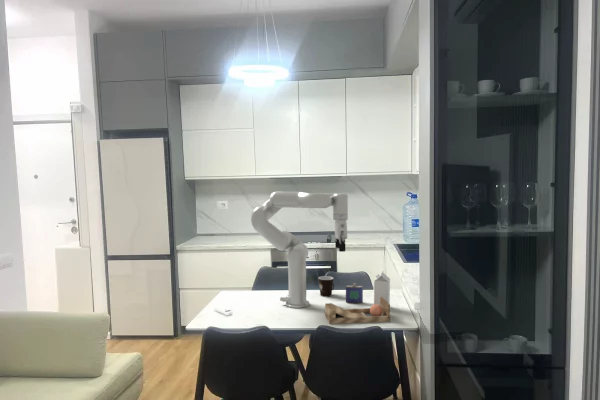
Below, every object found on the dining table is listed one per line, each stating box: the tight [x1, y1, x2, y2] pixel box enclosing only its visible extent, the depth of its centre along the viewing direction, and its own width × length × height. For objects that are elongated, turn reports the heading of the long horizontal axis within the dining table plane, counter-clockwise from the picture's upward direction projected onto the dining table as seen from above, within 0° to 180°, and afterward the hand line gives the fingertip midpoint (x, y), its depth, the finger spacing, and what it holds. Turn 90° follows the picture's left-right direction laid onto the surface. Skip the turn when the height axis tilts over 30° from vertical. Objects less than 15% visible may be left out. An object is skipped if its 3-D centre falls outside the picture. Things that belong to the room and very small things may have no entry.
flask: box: [345, 282, 364, 304], centre depth 225 cm, size 9×3×11 cm, turn 87°
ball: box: [370, 303, 382, 316], centre depth 202 cm, size 6×6×6 cm
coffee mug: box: [318, 275, 335, 298], centre depth 237 cm, size 12×9×10 cm
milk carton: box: [373, 270, 391, 305], centre depth 215 cm, size 7×7×19 cm
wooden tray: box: [324, 297, 391, 325], centre depth 201 cm, size 29×13×8 cm, turn 96°
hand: (340, 249), depth 216 cm, fingers open, 9 cm apart
